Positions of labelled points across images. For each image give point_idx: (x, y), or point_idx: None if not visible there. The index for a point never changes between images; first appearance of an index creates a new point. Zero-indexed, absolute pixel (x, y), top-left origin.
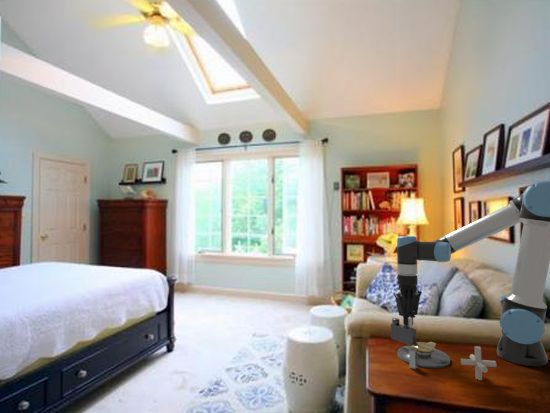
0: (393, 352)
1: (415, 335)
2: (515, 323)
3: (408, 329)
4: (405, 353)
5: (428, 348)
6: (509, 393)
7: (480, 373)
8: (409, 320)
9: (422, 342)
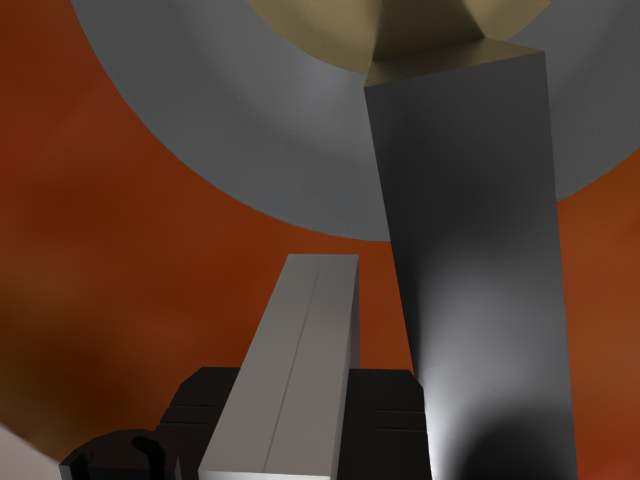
0: (620, 205)
1: (397, 67)
2: None
3: (553, 173)
4: (616, 25)
5: None
6: None
7: None
8: (328, 423)
9: (272, 20)
